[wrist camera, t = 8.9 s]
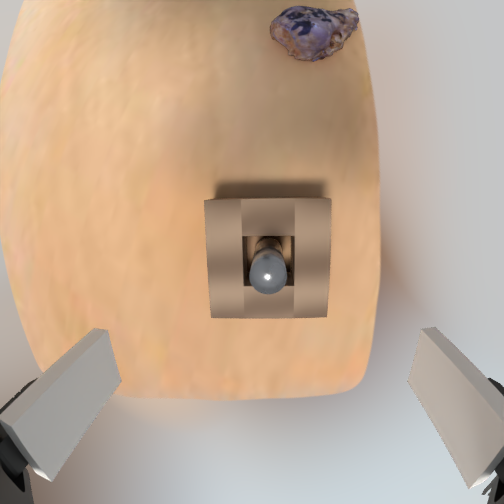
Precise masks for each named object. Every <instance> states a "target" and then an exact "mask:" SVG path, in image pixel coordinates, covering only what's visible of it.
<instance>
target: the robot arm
mask: <svg viewBox="0 0 504 504" xmlns="http://www.w3.org/2000/svg"><path fill="white" fill-rule="evenodd" d="M407 382H408V383H409V385H410V387H411V388H412V390H413V391H414V393H415V395H416V396H417V398H418V399H419V401H420V403H421V405H422V406H423V408H424V409H425V411H426V413H427V414H428V416H429V418H430V419H431V421H432V423H433V425H434V426H435V428H436V430H437V432H438V433H439V435H440V436H441V438H442V440H443V442H444V444H445V446H446V447H447V449H448V451H449V453H450V455H451V457H452V458H453V460H454V462H455V464H456V466H457V467H458V469H459V471H460V473H461V475H462V477H463V479H464V481H465V483H466V485H467V487H468V489H471V488H473V487H475V486H477V485H479V484H480V483H482V482H484V481H486V480H487V478H488V477H489V476H490V475H491V474H492V472H493V471H494V470H495V472H496V473H497V476H496V477H495V478H494V479H493V480H492V482H491V483H490V484H489V485H488V486H487V487H486V488H485V489H484V491H483V493H482V495H485V494H486V492H487V491H488V490H489V489H490V488H491V487H492V488H491V492H490V493H489V494H488V495H489V500H488V503H487V504H504V387H503V386H502V385H501V384H500V383H498V382H496V381H494V380H493V379H491V378H488V379H487V378H486V377H485V376H484V375H483V374H482V373H481V371H480V370H478V368H477V367H476V366H475V365H474V364H473V363H472V362H471V361H470V360H469V359H468V358H467V357H466V356H465V355H464V354H463V353H462V352H461V351H459V349H458V348H457V347H456V346H455V345H454V344H453V343H452V342H450V341H449V339H447V338H446V337H445V336H444V335H443V334H442V333H441V332H440V331H439V330H438V329H437V328H436V327H431V328H425V329H421V331H420V336H419V340H418V345H417V348H416V352H415V356H414V360H413V364H412V367H411V371H410V374H409V378H408V381H407ZM120 383H121V377H120V374H119V371H118V367H117V364H116V360H115V357H114V353H113V349H112V345H111V341H110V337H109V333H108V330H103V329H95V328H94V329H93V330H91V331H90V332H89V333H88V334H87V335H86V336H84V337H83V338H82V339H81V340H80V341H79V342H78V343H77V344H75V345H74V346H73V347H72V348H71V349H70V350H69V351H67V352H66V353H65V354H64V355H63V356H62V357H61V358H60V359H59V360H57V361H56V362H55V363H54V364H53V365H52V366H51V367H50V368H49V369H48V370H46V371H45V372H44V373H43V374H42V375H41V376H40V377H39V378H37V379H35V380H33V381H31V382H29V383H28V384H27V385H26V386H24V387H23V388H22V389H21V392H18V393H17V394H16V395H15V397H14V398H12V399H11V400H10V401H9V402H8V403H6V404H5V405H4V406H3V407H2V408H1V409H0V504H34V502H33V497H32V491H31V485H30V478H29V473H28V470H27V469H26V468H25V467H26V466H27V465H28V463H29V465H30V466H31V467H32V468H33V470H34V471H35V472H36V473H37V474H38V475H40V476H42V477H44V478H45V479H47V480H49V481H51V482H52V481H53V480H54V478H55V476H56V475H57V473H58V472H59V470H60V469H61V467H62V466H63V464H64V463H65V461H66V460H67V458H68V457H69V456H70V454H71V453H72V451H73V450H74V448H75V447H76V445H77V444H78V442H79V441H80V439H81V438H82V436H83V435H84V434H85V432H86V431H87V429H88V428H89V426H90V425H91V423H92V422H93V421H94V419H95V418H96V416H97V415H98V413H99V412H100V411H101V409H102V408H103V406H104V405H105V404H106V402H107V401H108V399H109V398H110V397H111V395H112V394H113V392H114V391H115V390H116V388H117V387H118V385H119V384H120Z"/></svg>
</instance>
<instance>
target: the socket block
mask: <svg viewBox="0 0 504 504" xmlns="http://www.w3.org/2000/svg"><path fill="white" fill-rule="evenodd" d="M204 207H205V231H206V250H207V267H208V283H209V297H210V310H211V318H317V317H327V308H328V293H329V275H330V251H331V199H330V198H323V197H261V198H223V199H210V200H204ZM246 236H291V272H287V281H286V284H285V286H284V287H283V288H282V289H281V290H280V291H278V292H277V293H274V294H262V293H260V292H258V291H257V290H255V289H254V288H253V286H252V285H251V282H250V278H249V274H250V272H247V245H246Z"/></svg>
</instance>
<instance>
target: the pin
mask: <svg viewBox="0 0 504 504" xmlns="http://www.w3.org/2000/svg"><path fill="white" fill-rule="evenodd" d="M249 278H250V282H251V285H252V286H253V288H254V289H255V290H257V291H258V292H260V293H262V294H274V293H277V292H278V291H280V290H281V289H282V288H283V287H284V286H285V284H286V281H287V272H286V267H285V262H284V257H283V252H282V248H281V245H280V243H279V242H278V241H277V240H275V239H273V238H264V239H262V240H260V241H259V242H258V244H257V245H256V248H255V253H254V257H253V261H252V265H251V270H250V274H249Z"/></svg>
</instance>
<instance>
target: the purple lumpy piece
mask: <svg viewBox="0 0 504 504" xmlns="http://www.w3.org/2000/svg"><path fill="white" fill-rule="evenodd" d="M358 21H359V18H358V13H357V12H355V11H353V9H350V8H349V9H345V10H342V9H339V10H337V11H327V10H325V9H316V8H311V7H305V6H294V7H291V8H288V9H286V10H284V11H283V12H282V13H281V15H279V16H278V17H276V18H275V19H274V21H272V24H271V26H270V33H271V37H272V39H273V40H277V41H278V42H280V43H281V44H282V45H284V46H285V47H286V48H287V49H288V50H289V53H288V55H294V56H295V59H301V60H311V61H313V62H314V61H316V60H318V59H320V60H322V59H324V58H325V57H326V56H332V55H333V53H334V52H335V51H338V50H340V49H342V47H343V43H344V41H345V40H347V38H348V37H350V35H351V33H352V31H353V29H355V30H357V28H358V27H357V23H358ZM330 44H331V46H330Z"/></svg>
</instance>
